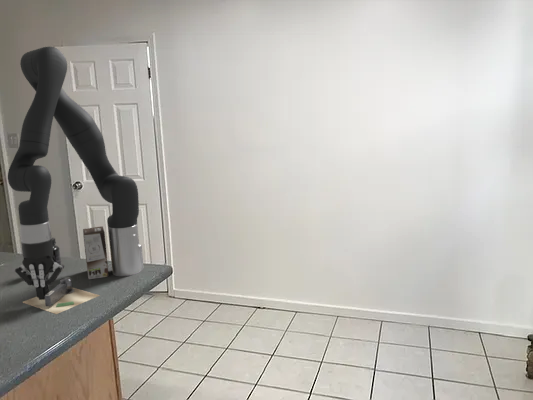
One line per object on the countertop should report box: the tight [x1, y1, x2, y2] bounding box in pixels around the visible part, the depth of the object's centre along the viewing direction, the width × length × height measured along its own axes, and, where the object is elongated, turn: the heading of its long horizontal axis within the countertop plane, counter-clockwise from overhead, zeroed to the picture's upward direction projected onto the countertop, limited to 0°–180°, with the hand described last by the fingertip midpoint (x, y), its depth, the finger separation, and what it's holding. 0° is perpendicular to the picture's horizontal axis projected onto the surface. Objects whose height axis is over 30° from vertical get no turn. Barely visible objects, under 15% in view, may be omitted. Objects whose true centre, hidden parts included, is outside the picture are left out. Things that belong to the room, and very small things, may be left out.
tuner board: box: [22, 286, 101, 315], centre depth 135 cm, size 14×16×2 cm
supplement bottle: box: [49, 237, 63, 273], centre depth 160 cm, size 7×7×12 cm
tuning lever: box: [44, 276, 73, 306], centre depth 135 cm, size 12×3×4 cm, turn 177°
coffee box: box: [82, 226, 110, 280], centre depth 154 cm, size 9×6×16 cm
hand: (43, 298), depth 132 cm, fingers closed
